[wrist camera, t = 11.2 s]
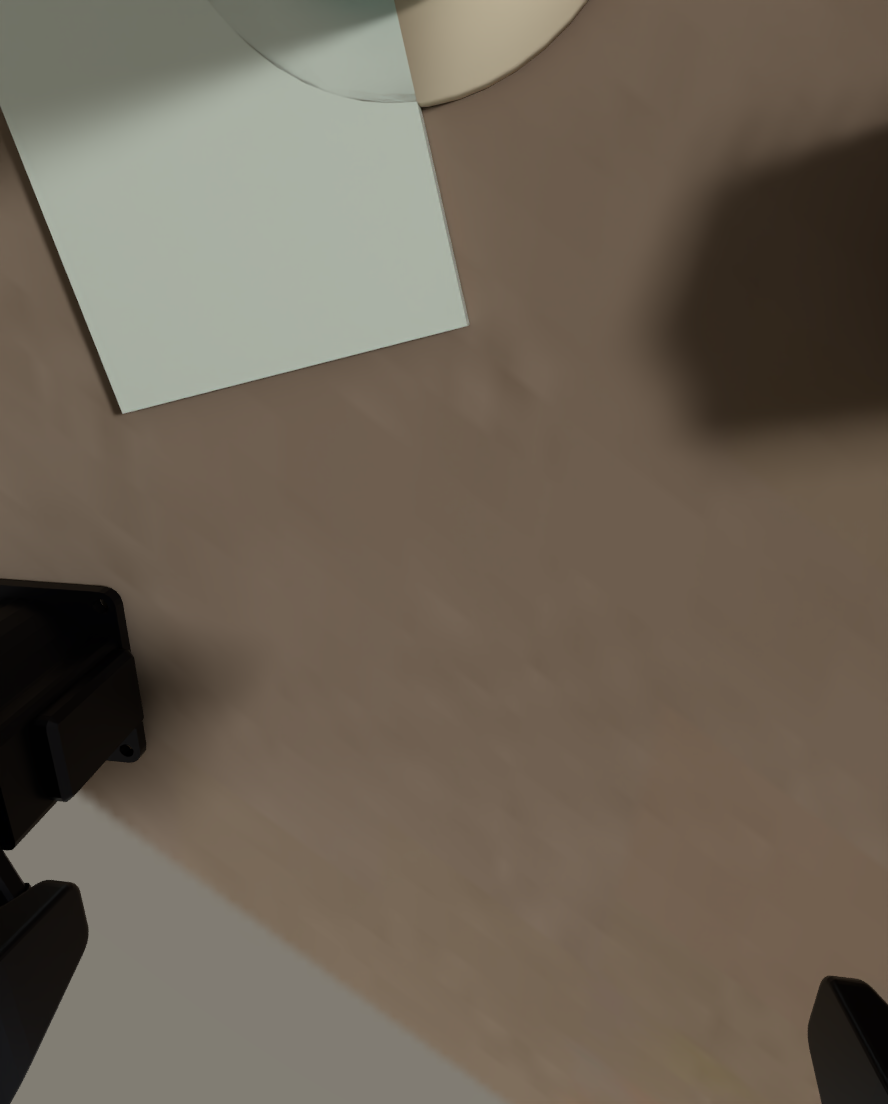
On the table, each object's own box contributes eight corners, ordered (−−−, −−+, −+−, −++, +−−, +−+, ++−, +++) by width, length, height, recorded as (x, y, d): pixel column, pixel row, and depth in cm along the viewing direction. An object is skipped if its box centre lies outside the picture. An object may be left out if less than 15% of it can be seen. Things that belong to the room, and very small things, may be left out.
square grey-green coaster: (133, 410, 20) (122, 413, 20) (-24, 6, 17) (-44, -4, 16) (469, 324, 18) (467, 325, 18) (362, -153, 15) (355, -169, 14)
